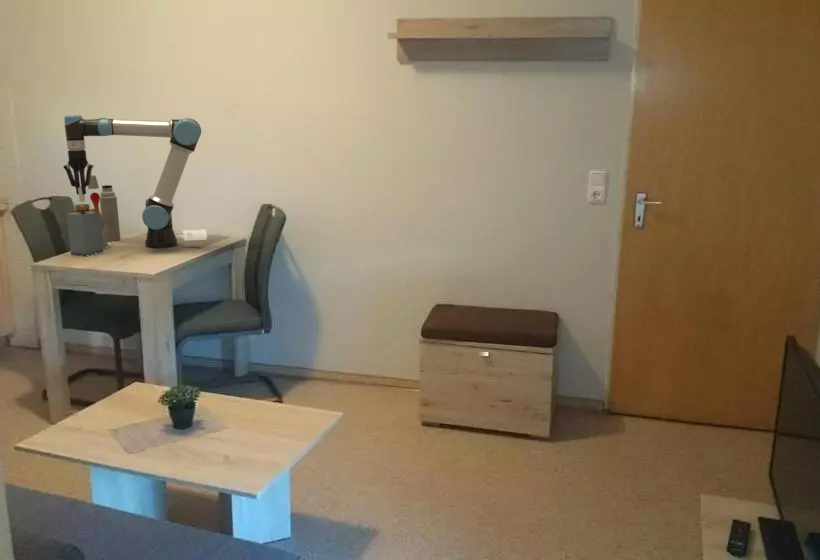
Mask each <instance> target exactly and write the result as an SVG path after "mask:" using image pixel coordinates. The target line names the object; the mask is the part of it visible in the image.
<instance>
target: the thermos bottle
mask: <svg viewBox="0 0 820 560" xmlns="http://www.w3.org/2000/svg"><path fill="white" fill-rule="evenodd" d="M99 204H100V206H99V207H100V214H101V215H102V216H106V220H105V224H104V228H103V234H104V236H105V239H106V241H107V243H112V241H115V242H118V241H119V240H120V241H121V232H120V221H119V220H120V218H119V210H118V199H117V195H116V194H115V191H114V190H113V185H109V184H108V185H107V184H105V185H102V186H101V192H100V199H99Z"/></svg>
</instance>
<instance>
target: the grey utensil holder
mask: <svg viewBox="0 0 820 560" xmlns="http://www.w3.org/2000/svg"><path fill="white" fill-rule="evenodd" d="M100 214H101V212H100V213H99V212H90V211H89V212H85V214H81V212H76V211H75V212H70V213H66V219H67V220H66V221H67V222H66V223H67V231H68V241H69V248H70V255H72V254H76V255H75V256H79V255H85V256H84V257H88V256H87V255H90V256H92V255H91V254H94V255H96V254H95V253H99V254H101V253H100V252H103V253H104V249H103V243H102V233H101V223H100Z"/></svg>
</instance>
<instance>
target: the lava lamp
mask: <svg viewBox="0 0 820 560" xmlns="http://www.w3.org/2000/svg"><path fill="white" fill-rule="evenodd" d="M95 189H99V184H98V179H97V176H96V175H95V174H91V178H90V185H89V186H87V190H95ZM100 197H101V195H100V194H99V193H98V192H92V193H91V194H90V196H89V198H90V201H91V202H92V205H93V208H91V209H90V212H99V213H100V223H101V233H102V243H103V248H105V249H107V248H106V247H108V246H109V244H108V243H109V242H107V241H106V239H105V236H104V234H103V228H104V224H105V220H106V216H102V215H101V210H100V209H99V207H100V206H99V204H100ZM108 248H109V247H108Z"/></svg>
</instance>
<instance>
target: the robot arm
mask: <svg viewBox="0 0 820 560" xmlns="http://www.w3.org/2000/svg"><path fill="white" fill-rule="evenodd" d="M64 130H65V138H66V148H67V156H68V162H67V164H65V165H63V169H64V170H65V172H66V175H67V177H68V180H69V182H70V185H71V187H74V188H75V192H76V195H78V201H79V202H80V203H85V202H86V197H85V196H86V194H87V189H86V188H87V187H88V186H89V185H90V178H91V175H92V170H93V168H94V165H93V164H91V163H89V161H88V160H87V151H86V143H85V142H86V141H85V137H109V136H122V137H123V136H125V137H126V136H127V137H149V138H150V137H151V138H169V139H170V140H169V145H170V146H171V147H170V150H169V151H168V152H169V153H168V156H167V158H166V161H165V163H164V166H163V169H162V172H161V174H160V177H159V179H158V182H157V185H156V188H155V190H154V194H153V195H151V196H149V197H148V198H147V199H146V200H145V208H144V210H143V211H142V215H141V218H142V221H143V223H144V225H145V226H146V227H147V231H146V232H147V233H146V239H145V242H144V243H145V244H144V246H145V247H146V246H147V248H154V247H160V248H168V247H174V246H177V245H178V238H177V237H176V234H175V231H174V228H173V217H172V215H173V213H172V212H173V210H174V207H175V204H174V203H173V200H174V197H175V194H176V191H177V189H178V186H179V183H180V180H181V178H182V175H183V174H184V173H183V172H184V170H185V167H186V164H187V162H188V159H189V158H190V157H189V156H190V154H192V153H194V152H195V150H196V147H197V144H198V143H199V140H200V138H201V135H202V126H201V125H200V124H199V122H198V121H197V120H195V119H193V118H190V117H189V118H188V117H185V118H180V119H170V120H169V121H168V120H166V121H165V120H164V121H163V120H146V119H145V120H142V119H124V118H123V119H121V118H105V117H100V118H95V119H91V118H90V119H85V118H83V116H82V115H81V114H68V115H65V116H64ZM86 168H87V169H86ZM71 169H72V170H71ZM85 169H86V174H85ZM72 171H73V172H72ZM85 175H86V176H85ZM154 249H155V248H154Z"/></svg>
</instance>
